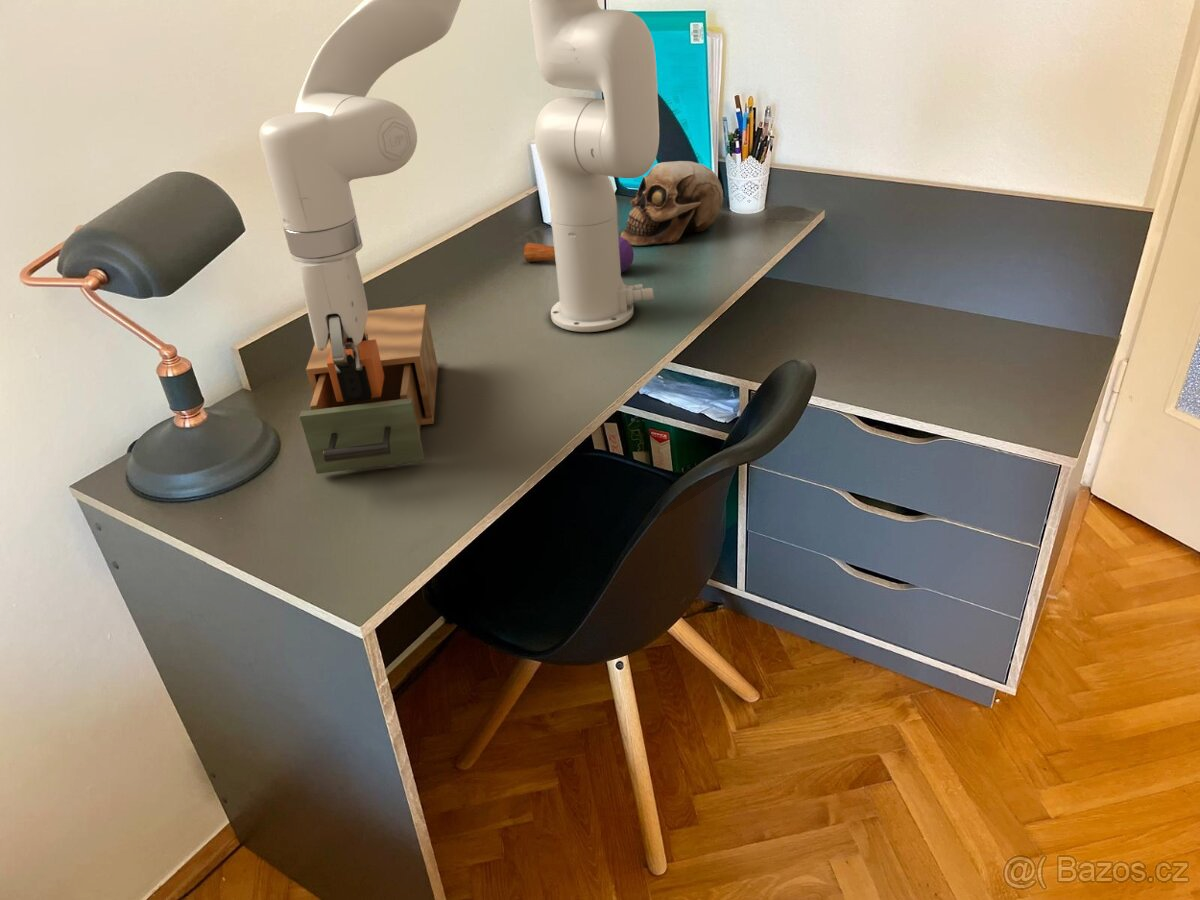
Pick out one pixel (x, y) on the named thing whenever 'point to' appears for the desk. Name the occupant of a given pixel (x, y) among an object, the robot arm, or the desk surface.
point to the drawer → (366, 424)
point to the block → (371, 363)
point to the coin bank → (673, 203)
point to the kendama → (547, 253)
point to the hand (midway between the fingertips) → (360, 386)
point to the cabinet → (396, 349)
